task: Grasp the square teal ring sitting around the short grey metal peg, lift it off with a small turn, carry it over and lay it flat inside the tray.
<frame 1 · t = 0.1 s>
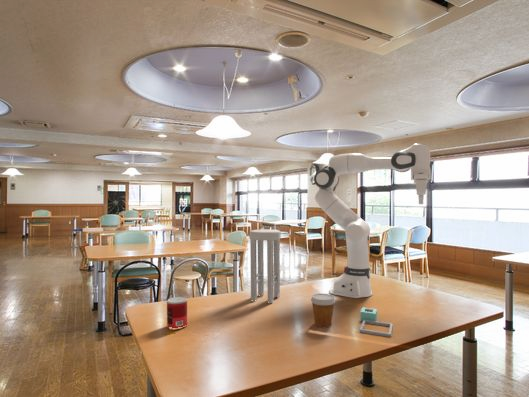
hand: (420, 204, 164), 48 cm above the table, tool pointing down, fingers open, 8 cm apart
tray: (376, 331, 127), on the table
ring: (368, 318, 137), point 1 cm above the table, touching stake
stake: (368, 321, 137), on the table
disposable coffee cup: (323, 327, 132), on the table
canned food: (177, 327, 133), on the table
stool: (265, 299, 169), on the table
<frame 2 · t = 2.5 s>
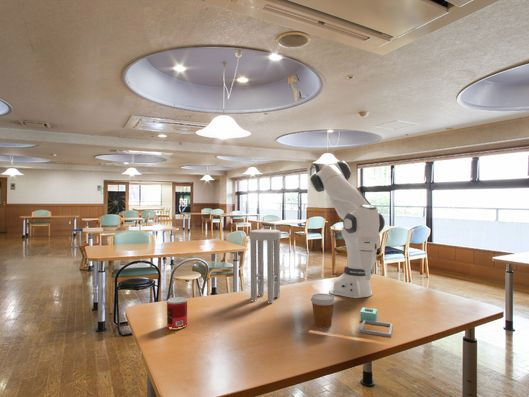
hand: (369, 276, 138), 18 cm above the table, tool pointing down, fingers open, 8 cm apart
nothing on the table moved.
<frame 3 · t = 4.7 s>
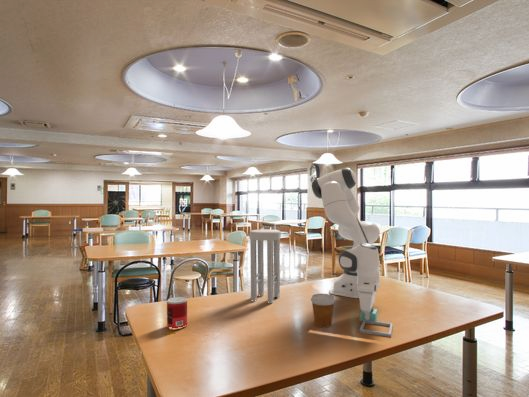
hand: (368, 316, 137), 2 cm above the table, tool pointing down, fingers closed on ring, 6 cm apart
ring: (368, 318, 137), point 1 cm above the table, touching gripper, stake
everything else where it was.
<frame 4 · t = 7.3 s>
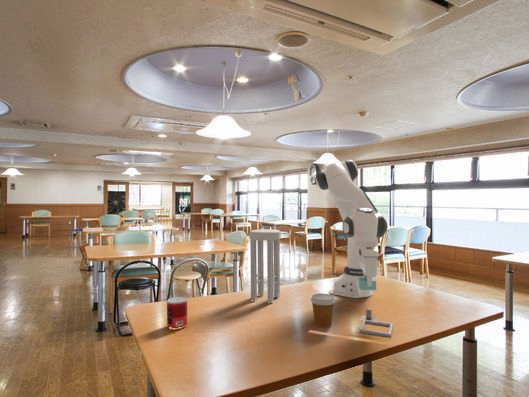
hand: (367, 283, 132), 17 cm above the table, tool pointing down, fingers closed on ring, 6 cm apart
ring: (367, 288, 132), point 15 cm above the table, touching gripper
everything else where it was.
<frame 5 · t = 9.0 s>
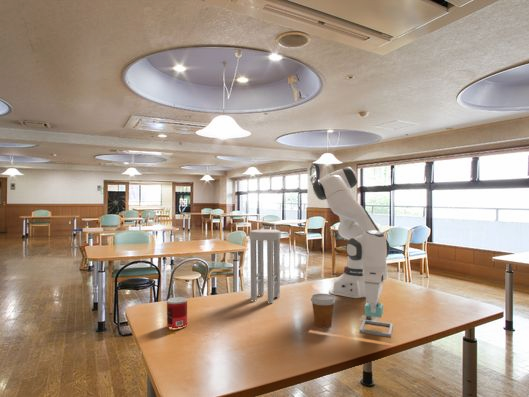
hand: (374, 309, 127), 9 cm above the table, tool pointing down, fingers closed on ring, 6 cm apart
ring: (373, 314, 127), point 7 cm above the table, touching gripper
everything else where it was.
when the fingers open (4 cm above the table, at t = 10.3 s): ring drops 1 cm, resting on tray.
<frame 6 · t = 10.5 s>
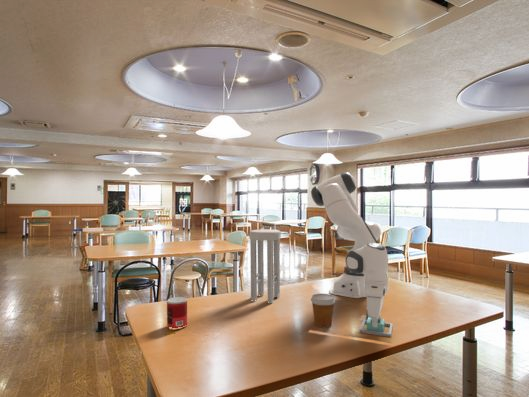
hand: (376, 322, 127), 4 cm above the table, tool pointing down, fingers open, 8 cm apart
ring: (375, 329, 127), point 1 cm above the table, touching tray
everything else where it was.
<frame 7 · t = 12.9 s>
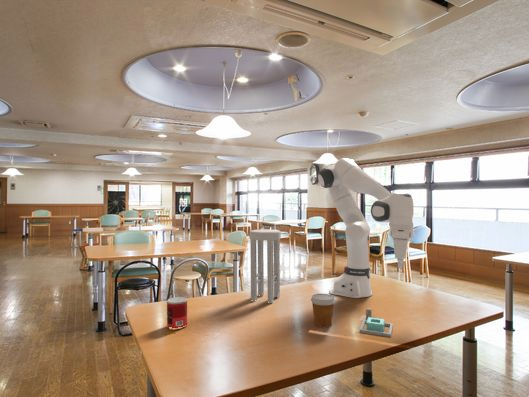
hand: (400, 265, 134), 23 cm above the table, tool pointing down, fingers open, 8 cm apart
nothing on the table moved.
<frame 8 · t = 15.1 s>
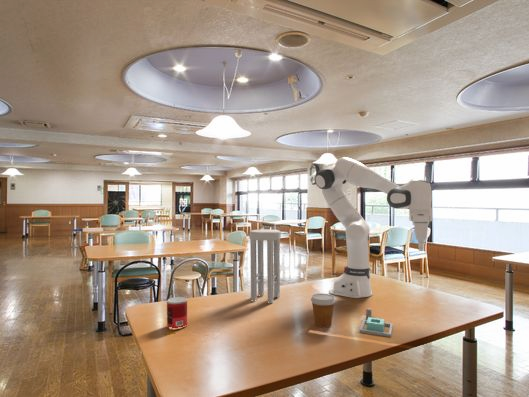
hand: (420, 249, 142), 29 cm above the table, tool pointing down, fingers open, 8 cm apart
nothing on the table moved.
at the end: ring 0.3 cm off-centre on the tray, point 0.6 cm above the tray's base; ring tilted 0°; the gripper is holding nothing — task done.
